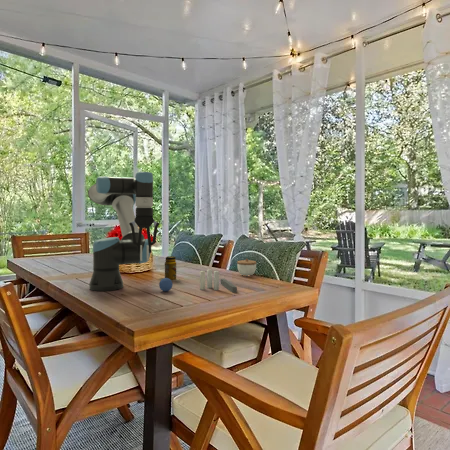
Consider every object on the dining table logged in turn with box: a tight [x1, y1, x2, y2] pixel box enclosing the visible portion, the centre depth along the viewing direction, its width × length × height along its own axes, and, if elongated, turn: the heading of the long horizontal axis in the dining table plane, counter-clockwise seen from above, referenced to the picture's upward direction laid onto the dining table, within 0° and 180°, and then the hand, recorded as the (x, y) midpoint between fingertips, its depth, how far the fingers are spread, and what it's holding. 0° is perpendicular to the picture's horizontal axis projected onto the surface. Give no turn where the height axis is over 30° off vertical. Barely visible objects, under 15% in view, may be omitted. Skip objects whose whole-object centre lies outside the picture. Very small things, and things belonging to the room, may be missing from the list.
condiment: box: [159, 255, 180, 282], centre depth 197 cm, size 7×8×12 cm
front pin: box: [199, 270, 206, 291], centre depth 174 cm, size 2×2×8 cm
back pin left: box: [206, 269, 213, 289], centre depth 178 cm, size 2×2×8 cm
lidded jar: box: [237, 258, 257, 277], centre depth 211 cm, size 11×11×9 cm
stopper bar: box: [220, 278, 238, 294], centre depth 178 cm, size 2×20×2 cm, turn 16°
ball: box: [158, 277, 174, 292], centre depth 170 cm, size 6×6×6 cm
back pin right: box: [213, 270, 220, 291], centre depth 174 cm, size 2×2×8 cm
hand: (144, 260), depth 167 cm, fingers open, 2 cm apart
